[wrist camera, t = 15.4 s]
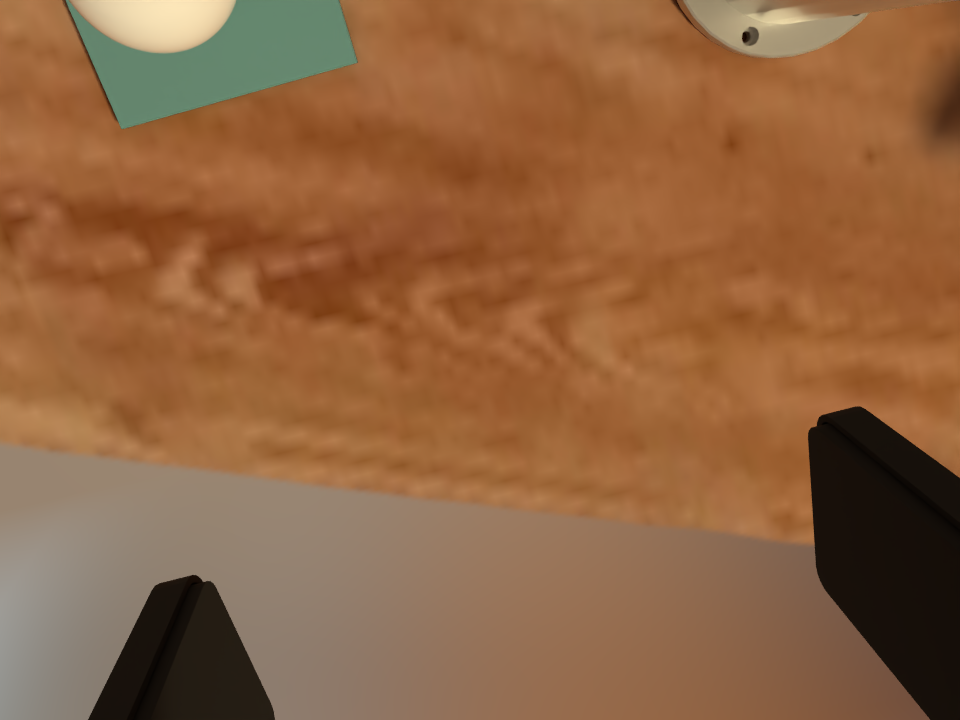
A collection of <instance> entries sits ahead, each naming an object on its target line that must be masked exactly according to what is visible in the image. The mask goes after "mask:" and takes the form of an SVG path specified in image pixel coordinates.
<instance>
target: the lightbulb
mask: <svg viewBox="0 0 960 720" xmlns="http://www.w3.org/2000/svg"><path fill="white" fill-rule="evenodd" d="M69 1H70V3H71V4H72V5H73V7H74V8H75V9H76V10H77V11H78V12H79V14H80V15H81V16H82V17H83V18H84V19H85V20H86V21H87V22H88V23H90V24H91V25H92V26H93V27H94V28H96V29H97V30H98V31H99V32H101V33H102V34H104V35H105V36H107V37H108V38H110V39H112V40H114V41H116V42H118V43H120V44H122V45H124V46H127V47H129V48H132V49H136V50H139V51H144V52H149V53H162V54H165V53H177V52H182V51H186V50H189V49H192V48H194V47H197V46H199V45H201V44H203V43H204V42H206V41H207V40H209V39H210V38H212V37H213V36H214V35H215V34H216V33H217V32H218V31H219V30H220V29H221V28H222V27H223V26H224V24H225V23H226V21H227V20H228V18H229V17H230V15H231V13H232V11H233V9H234V6H235V3H236V0H69Z"/></svg>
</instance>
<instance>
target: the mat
mask: <svg viewBox="0 0 960 720" xmlns="http://www.w3.org/2000/svg"><path fill="white" fill-rule="evenodd" d="M66 3H67V5H68V7H69V10H70V12H71V14H72V16H73V19H74V21H75V23H76V26H77V28H78V30H79V32H80V35H81V37H82V39H83V42H84V44H85V46H86V49H87V51H88V53H89V55H90V58H91V60H92V62H93V65H94V67H95V69H96V72H97V74H98V76H99V78H100V81H101V83H102V85H103V88H104V90H105V92H106V95H107V97H108V99H109V101H110V104H111V106H112V108H113V111H114V113H115V115H116V117H117V120H118V122H119V124H120V127H121V129H124V128H128V127H132V126H135V125H139V124H142V123H146V122H149V121H153V120H157V119H160V118H164V117H167V116H171V115H174V114H178V113H181V112H185V111H188V110H192V109H196V108H199V107H203V106H206V105H210V104H213V103H217V102H220V101H224V100H227V99H231V98H234V97H238V96H242V95H245V94H249V93H252V92H256V91H259V90H263V89H266V88H270V87H273V86H277V85H280V84H284V83H288V82H291V81H295V80H298V79H302V78H305V77H309V76H312V75H316V74H319V73H323V72H326V71H330V70H334V69H337V68H341V67H344V66H348V65H351V64H355V63H358V61H357V58H356V55H355V52H354V48H353V45H352V42H351V38H350V35H349V32H348V28H347V25H346V22H345V18H344V15H343V12H342V8H341V5H340V2H339V0H236V3H235V6H234V9H233V11H232V13H231V15H230V17H229V18H228V20H227V21H226V23H225V24H224V26H223V27H222V28H221V29H220V30H219V31H218V32H217V33H216V34H215V35H214V36H213V37H212V38H210V39H209V40H207V41H206V42H204V43H203V44H201V45H199V46H197V47H194V48H192V49H189V50H186V51H182V52H177V53H165V54H162V53H149V52H144V51H139V50H136V49H132V48H129V47H127V46H124V45H122V44H120V43H118V42H116V41H114V40H112V39H110V38H108V37H107V36H105V35H104V34H102V33H101V32H99V31H98V30H97V29H96V28H94V27H93V26H92V25H91V24H90V23H88V22H87V21H86V20H85V19H84V18H83V17H82V16H81V15H80V14H79V12H78V11H77V10H76V9H75V8H74V7H73V5H72V4H71V3H70V1H69V0H66Z"/></svg>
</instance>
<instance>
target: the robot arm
mask: <svg viewBox="0 0 960 720" xmlns="http://www.w3.org/2000/svg"><path fill="white" fill-rule="evenodd" d="M949 1H957V0H677V2H678V4H679V6H680V8H681V10H682V11H683V12H684V14H685V15H686V16H687V17H688V19H689V20H690V21H691V23H692V24H693V25H694V27H695V28H697V29H698V30H699V31H700V32H701V33H702V34H704V35H705V36H706V37H707V38H708V39H709V40H711V41H712V42H714V43H716V44H717V45H719V46H721V47H723V48H725V49H727V50H729V51H731V52H734V53H738V54H741V55H745V56H749V57H753V58H782V57H793V56H797V55H801V54H804V53H808V52H811V51H815V50H817V49H819V48H821V47H823V46H825V45H827V44H829V43H831V42H833V41H835V40H837V39H839V38H840V37H842V36H843V35H844V34H846V33H847V32H848V31H850V30H851V29H853V28H854V27H855V26H857V25H858V24H859V23H860V22H861V21H862V20H863V19H864V18H865V17H866V16H867V15H868V14H869V13H870V12H877V11H884V10H891V9H899V8H906V7H913V6H920V5H928V4H935V3H942V2H949ZM743 32H745V33H746V35H747V39H746V41H745V42H743V41H742V34H743ZM808 443H809V459H810V476H811V492H812V508H813V524H814V540H815V556H816V568H817V573H818V576H819V578H820V581H821V583H822V585H823V587H824V589H825V590H826V592H827V593H828V594H829V595H830V597H831V598H832V599H833V600H834V601H835V602H836V604H837V605H838V606H839V608H840V609H841V610H842V611H843V613H844V614H845V615H846V616H847V618H848V619H849V620H850V621H851V622H852V624H853V625H854V626H855V627H856V629H857V630H858V631H859V632H860V634H861V635H862V636H863V637H864V638H865V639H866V641H867V642H868V643H869V645H870V646H871V647H872V648H873V649H874V650H875V652H876V653H877V655H878V656H879V657H880V658H881V659H882V661H883V662H884V663H885V664H886V666H887V667H888V668H889V669H890V670H891V672H892V673H893V674H894V675H895V676H896V678H897V679H898V680H899V682H900V683H901V684H902V685H903V686H904V688H905V689H906V690H907V692H908V693H909V694H910V695H911V696H912V698H913V699H914V700H915V701H916V703H917V704H918V705H919V706H920V708H921V709H922V710H923V711H924V712H925V714H926V715H927V716H928V717H929V719H930V720H960V478H959V477H958V476H956V475H955V474H953V473H952V472H951V471H949V470H948V469H947V468H945V467H944V466H942V465H941V464H940V463H938V462H937V461H936V460H934V459H933V458H932V457H930V456H929V455H927V454H926V453H925V452H923V451H922V450H921V449H919V448H918V447H916V446H915V445H914V444H912V443H911V442H910V441H908V440H907V439H906V438H904V437H903V436H901V435H900V434H899V433H897V432H896V431H895V430H893V429H892V428H890V427H889V426H888V425H886V424H885V423H884V422H882V421H881V420H880V419H878V418H877V417H875V416H874V415H873V414H871V413H870V412H869V411H867V410H866V409H864V408H862V407H852V408H848V409H844V410H840V411H836V412H832V413H829V414H825V415H821V416H820V417H819V419H818V422H817V426H816V427H812V428H811V429H810V430H809V433H808ZM88 720H275V717H274V711H273V708H272V705H271V703H270V700H269V698H268V696H267V694H266V692H265V690H264V688H263V686H262V684H261V681H260V679H259V677H258V675H257V673H256V671H255V669H254V667H253V665H252V662H251V660H250V658H249V656H248V654H247V652H246V650H245V648H244V646H243V643H242V641H241V639H240V637H239V635H238V633H237V631H236V629H235V627H234V624H233V622H232V620H231V618H230V616H229V614H228V612H227V610H226V608H225V605H224V603H223V601H222V599H221V597H220V595H219V593H218V591H217V589H216V587H215V585H214V584H213V583H212V582H210V581H206V582H203V581H202V580H201V579H200V578H199V577H198V576H196V575H191V576H187V577H183V578H179V579H176V580H171V581H167V582H163V583H159V584H158V585H156V586H155V587H154V588H153V590H152V591H151V593H150V595H149V597H148V599H147V601H146V604H145V605H144V607H143V609H142V611H141V613H140V616H139V618H138V620H137V622H136V624H135V626H134V628H133V630H132V632H131V634H130V636H129V638H128V640H127V642H126V644H125V646H124V648H123V650H122V652H121V654H120V656H119V658H118V660H117V662H116V664H115V666H114V668H113V670H112V672H111V674H110V676H109V678H108V680H107V683H106V684H105V686H104V689H103V691H102V693H101V695H100V697H99V699H98V701H97V703H96V705H95V707H94V709H93V711H92V713H91V715H90V717H89V719H88Z"/></svg>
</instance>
